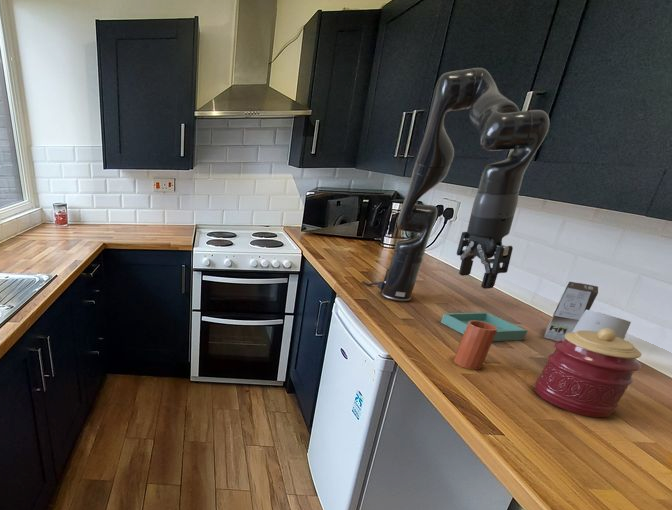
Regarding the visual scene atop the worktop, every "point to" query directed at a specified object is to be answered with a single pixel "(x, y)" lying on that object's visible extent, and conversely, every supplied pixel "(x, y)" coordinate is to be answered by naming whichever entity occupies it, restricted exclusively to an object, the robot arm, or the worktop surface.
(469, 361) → the tumbler
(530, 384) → the worktop surface
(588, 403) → the kitchen canister
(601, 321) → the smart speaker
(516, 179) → the robot arm
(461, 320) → the tray
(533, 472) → the worktop surface
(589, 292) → the coffee box
